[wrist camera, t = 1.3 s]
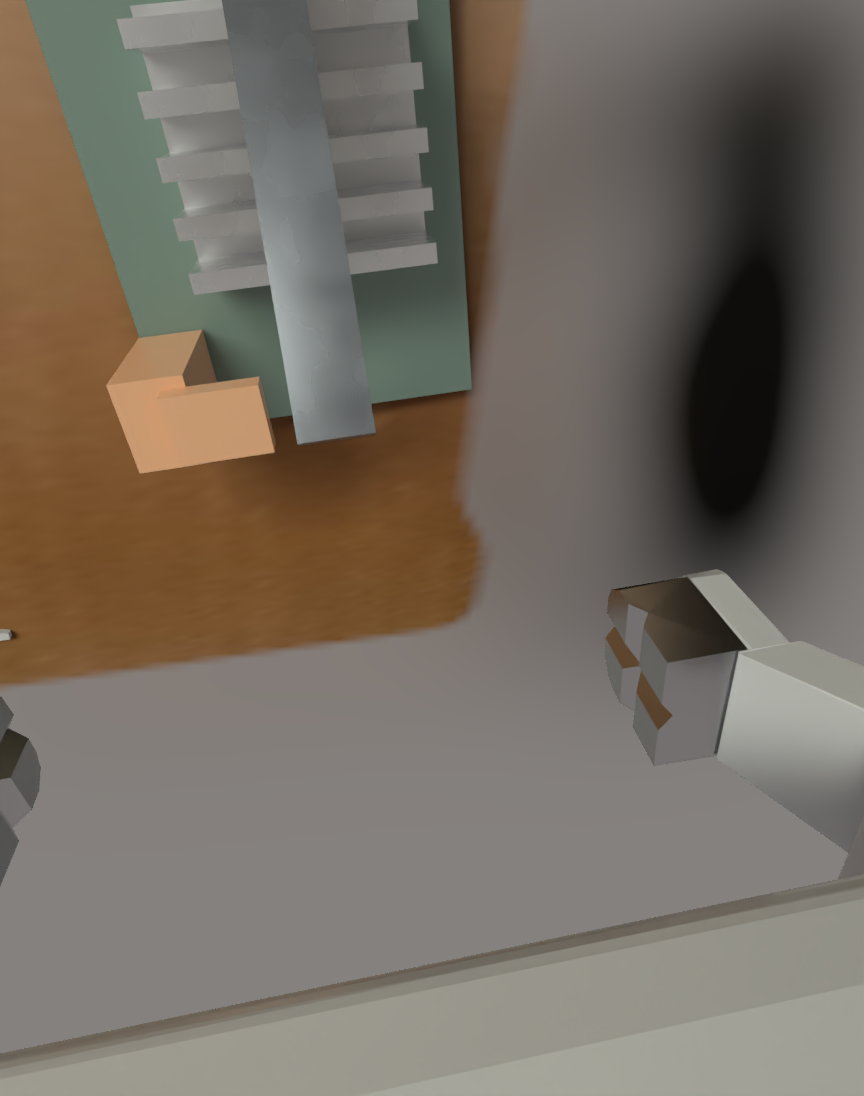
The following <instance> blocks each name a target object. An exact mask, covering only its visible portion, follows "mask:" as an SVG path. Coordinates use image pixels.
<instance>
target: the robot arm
mask: <svg viewBox="0 0 864 1096" xmlns="http://www.w3.org/2000/svg"><path fill="white" fill-rule="evenodd" d="M607 614H608V615H609V617H610V619H611V620H612V622H613V624H614V626H615V627H614V628H613V629H612V630H611V632H610V633H609V634H608V635H607V637H606V638H605V659H606V664H607V671H608V676H609V678H610V682H611V684H612V687H613V690H614V692H615V694H616V695H617V698H618V699H619V701H620V703H621V704H623V705H625V706H627V707H628V708H630V709H632V710H634V711H635V712H634V724H633V728H634V730H635V732H636V734H637V735H638V737H639V739H640V741H641V743H642V745H643V746H644V748H645V750H646V752H647V754H648V756H649V757H650V759H651V761H652V763H653V765H654V766H656V765H662V764H668V763H674V762H680V761H686V760H692V759H699V758H705V757H711V756H717V760H719V761H720V762H722V763H723V764H724V765H726V766H727V767H729V768H730V769H731V770H733V771H734V772H736V773H737V774H739V775H740V776H741V777H743V778H744V779H745V780H747V781H748V782H750V783H751V784H753V785H754V786H755V787H757V788H758V789H759V790H761V791H762V792H764V793H765V794H767V795H768V796H769V797H771V798H772V799H774V800H775V801H776V802H778V803H779V804H781V805H782V806H783V807H785V808H786V809H788V810H789V811H790V812H792V813H793V814H795V815H796V816H797V817H799V818H800V819H802V820H803V821H804V822H806V823H807V824H809V825H810V826H811V827H813V828H814V829H816V830H817V831H819V832H820V833H821V834H823V835H824V836H825V837H827V838H828V839H830V840H831V841H832V842H834V843H835V844H837V845H838V846H840V847H841V848H842V849H844V850H845V851H846V852H848V855H847V858H846V860H845V862H844V865H843V867H842V870H841V872H840V875H839V877H838V879H837V880H833V881H828V882H823V883H818V884H813V885H809V886H804V887H799V888H794V889H789V890H785V891H780V892H775V893H770V894H765V895H760V896H756V897H751V898H746V899H741V900H736V901H731V902H727V903H722V904H717V905H712V906H707V907H703V908H698V909H693V910H688V911H683V912H678V913H674V914H669V915H664V916H659V917H654V918H649V919H645V920H640V921H635V922H630V923H626V924H621V925H616V926H611V927H606V928H602V929H597V930H592V931H587V932H582V933H577V934H573V935H568V936H563V937H558V938H553V939H548V940H544V941H539V942H534V943H529V944H524V945H520V946H515V947H510V948H505V949H501V950H496V951H491V952H486V953H481V954H476V955H471V956H467V957H462V958H457V959H452V960H447V961H443V962H438V963H434V964H428V965H423V966H419V967H414V968H410V969H404V970H399V971H394V972H390V973H385V974H380V975H375V976H370V977H366V978H361V979H356V980H351V981H346V982H342V983H337V984H332V985H327V986H322V987H318V988H313V989H308V990H303V991H299V992H294V993H289V994H284V995H279V996H274V997H269V998H265V999H260V1000H255V1001H250V1002H245V1003H241V1004H236V1005H231V1006H227V1007H222V1008H217V1009H212V1010H207V1011H202V1012H197V1013H193V1014H188V1015H184V1016H179V1017H173V1018H169V1019H164V1020H159V1021H155V1022H150V1023H145V1024H140V1025H135V1026H130V1027H125V1028H121V1029H116V1030H111V1031H106V1032H101V1033H97V1034H92V1035H87V1036H82V1037H78V1038H72V1039H68V1040H63V1041H58V1042H54V1043H49V1044H44V1045H39V1046H34V1047H29V1048H24V1049H19V1050H15V1051H10V1052H5V1053H0V1096H864V666H861V665H859V664H856V663H854V662H851V661H849V660H847V659H844V658H842V657H839V656H837V655H835V654H832V653H830V652H827V651H825V650H822V649H820V648H818V647H815V646H813V645H810V644H808V643H805V642H803V641H797V642H791V643H790V642H789V641H788V640H787V639H786V638H785V636H784V635H783V634H782V633H781V632H780V631H779V630H778V629H777V628H776V627H775V626H774V625H773V624H772V623H771V621H770V620H769V619H768V618H767V617H766V616H765V615H764V614H763V613H762V612H761V611H760V610H759V609H758V608H757V606H756V605H755V604H754V603H753V602H752V601H751V600H750V599H749V598H748V597H747V596H746V595H745V594H744V592H743V591H742V590H741V589H740V588H739V587H738V586H737V585H736V584H735V583H734V582H733V581H732V580H731V578H730V577H729V576H728V575H727V574H726V573H724V572H722V571H720V570H717V569H716V570H711V571H706V572H701V573H695V574H690V575H685V576H682V577H681V578H674V579H668V580H662V581H657V582H651V583H645V584H640V585H634V586H628V587H622V588H616V589H612V590H611V592H610V595H609V597H608V607H607ZM13 715H14V714H13V713H12V711H11V710H10V708H9V707H8V706H7V704H6V703H5V701H4V700H3V698H2V697H0V886H1V883H2V881H3V878H4V876H5V873H6V871H7V869H8V866H9V864H10V861H11V859H12V857H13V854H14V852H15V849H16V847H17V844H18V842H19V840H18V837H17V835H16V833H15V831H14V829H13V827H14V826H15V825H16V824H17V823H18V822H19V821H20V820H21V819H23V818H24V817H25V816H26V815H27V814H28V813H29V812H30V811H31V810H32V808H33V805H34V803H35V800H36V797H37V795H38V792H39V785H40V769H41V767H40V764H39V760H38V756H37V753H36V750H35V749H34V747H33V745H32V744H31V742H30V740H29V739H28V738H27V737H25V736H23V735H21V734H19V733H17V732H15V731H13V730H11V729H9V727H10V724H11V721H12V718H13Z"/></svg>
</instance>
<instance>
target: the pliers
mask: <svg viewBox="0 0 864 1096" xmlns="http://www.w3.org/2000/svg"><path fill="white" fill-rule="evenodd" d="M11 637H12V634H11V630H5V629H0V641H2V640H10V639H11Z"/></svg>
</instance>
